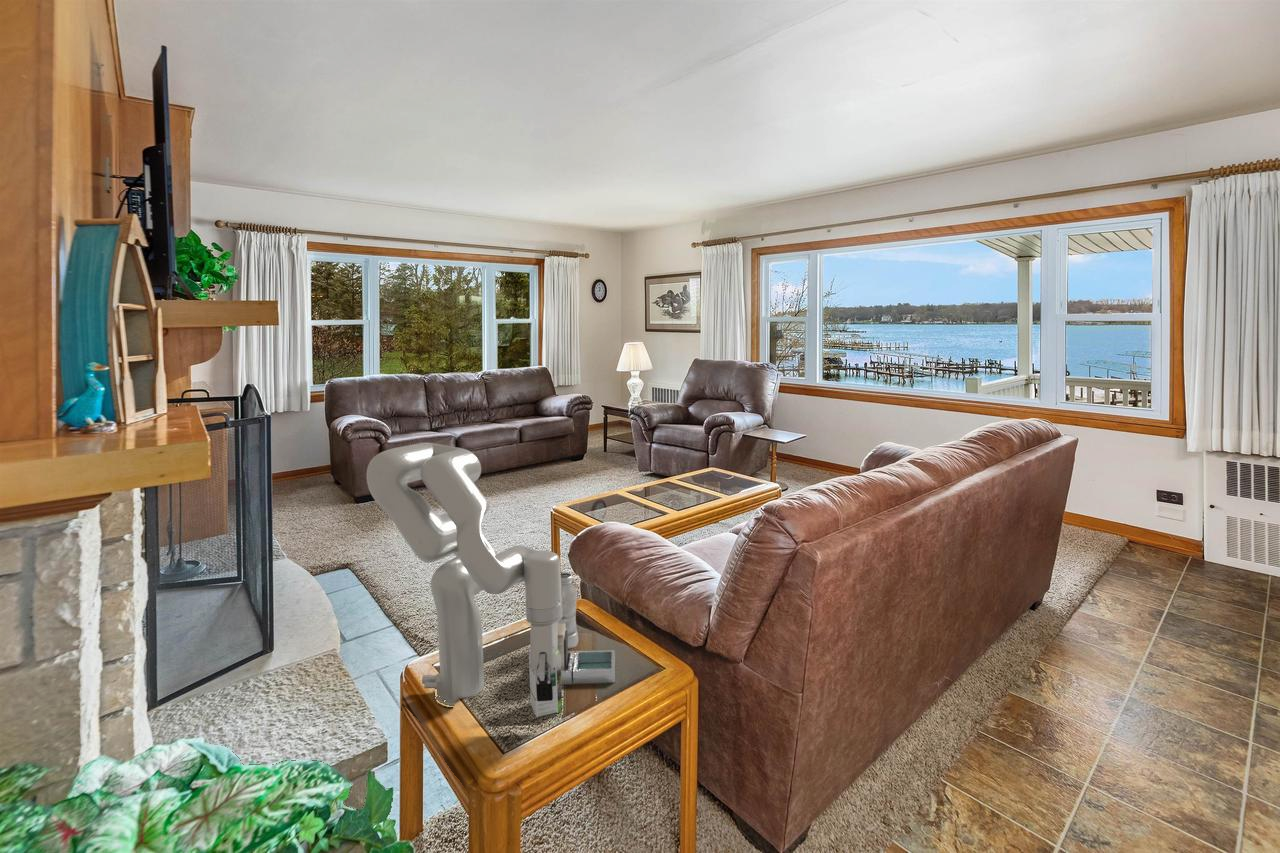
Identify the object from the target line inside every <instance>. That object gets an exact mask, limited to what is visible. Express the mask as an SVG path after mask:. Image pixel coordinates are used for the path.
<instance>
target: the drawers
mask: <svg viewBox="0 0 1280 853" xmlns="http://www.w3.org/2000/svg"><path fill="white" fill-rule="evenodd" d="M616 662H617V661H616V650H615V649H607V650H605V649H604V650H603V649H602V650H599V649H597V650H576V651H574V650H568V662H567V668H566V670H561V684H562V685H589V684H591V685H592V684H593V685H594V684H595V685H596V684H597V685H598V684H616V683H617V679H616V678H617V676H616V675H617V674H616V673H617V666H616V665H617V663H616ZM528 673H529V674H528V675H529V679H530V671H529V672H528ZM528 686H530V681H529V683H528Z"/></svg>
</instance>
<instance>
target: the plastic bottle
mask: <svg viewBox="0 0 1280 853" xmlns="http://www.w3.org/2000/svg"><path fill="white" fill-rule="evenodd" d="M572 583H573V578H572V574H571V573H569V572H562V573H561V598H562V618H561V619H560V620H559V621H557V624H564V623H565V625H566V630H568V650H570V649H572V648H575V647H576V646H578V644H579V634H578V630H577V620H576V616H577V615H576V613H577V602H578V592H577V590H576V588H575V586H573V584H572Z"/></svg>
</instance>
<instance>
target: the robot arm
mask: <svg viewBox="0 0 1280 853" xmlns="http://www.w3.org/2000/svg"><path fill="white" fill-rule="evenodd" d="M481 474H482V465H481V461H480V460H479V459H478V457H477V456H476V454H474V453H473V452H472V451H470V450H468V449H465V448H462V447H457V446H456V447H455V446H451V445H446V444H440V443H434V442H418V443H414V444H409V445H404V446H399V447H398V446H397V447H394V448H390V449H389V448H388V449H387V450H384V451H381V452H379V453H377V454H375V455H374V456H373V458H372V459H371V460H370V462H369V463H368V465H367V468H366V484H367V487H368V490H369V493H370V495H371V496H372V498H373V500H374V501H375V502H376V504H378V506H379V507H380V508H381V509H382V510H383V511H384V513H386V514H387V516H389V518H390V519H391V521H392V522H393V523H394V525H395V527H396V529H397V531H399V532H400V534H401V535H402V537H403V539H404V541H406V544H408V546H409V547H410V549H411V550H412V552H413V553H414V555H415V556H416V557H417V558H418V559H419V560H420V561H421V562H423V563H430V564H431V563H434V562H437V561H440V560H442V559H445V558H447V557H449V556H452V555H453V554H454V556H455V557H454V558H451V559H450V560H447V561H446V562H444V563H443V564H441V565H440V566H438V568H436V570H434V572H433V574H432V576H431V579H430V580H431V581H430V590H431V594H432V599H433V601H434V605H435V606H434V607H435V611H436V621H437V624H436V625H437V637H438V638H437V639H438V640H437V641H438V656H439V672H438V673H436V674H423V675H422V678H421V684H422V685H423V688H424V689H426V690H427V689H434V690H435V689H437V695H438V696H437V697H436V696H435V697H436V700H438V701H439V702H440V703H443V704H445V705H449V706H454V707H455V705H456V703H457V701H458V700H461V699H466V698H470V697H473V696H475V695H477V694H478V693H480V692H481V691H483V688H485V677H484V676H485V672H484V671H485V670H484V669H485V668H484V650H483V649H484V647H483V645H484V644H483V627H482V626H483V625H482V614H481V611H480V608H479V607H478V605H477V604H476V602H475V596H477V595H478V594H480V593H481V592H482V591H483V592H485V593H487V594H490V595H500V594H503V593H505V592H506V591H508V590H510V589H511V588H513V587H515V586H517V585H518V584H520V583H523V582H524V596H525V617H526V621H527V623H528V624H530V635H529V636H530V640H529V644H530V645H529V646H530V647H529V648H530V655H531V670H532V671H534V670H536V669H537V682H536V689H537V701H552V699H553V690H552V681H551V670H552V669H553V668H554V666H555V659H556V652H557V648H558V627H557V621H559V620H560V619H561V618H562V598H561V574H562V573H561V559H560V556H559V555H558V553H555V552H554V551H550V550H549V551H548V550H540V551H539V550H536V549H533V548H531V547H528V546H525V545H514V546H511V547H509V548H507V549H505V550H503V551H500V552H499V553H497V552H496V551H495V550H494V548H493V547H492V545H491V544H490V543H489V541H488V539H487V538H486V536H485V535H484V534H483V533H482V522H483V520H484V517H485V516H486V515H487V513H488V511H489V509H490V503H489V500H488V499H487V498H486V497H485V495H483V493H482V491H481V490H480V489H479V488H478V487H477V485H476V484H475V482H477V480H479V478H480V476H481ZM420 480H422V482H423V484H424V485H425V486H426V488H427V490H428V491H429V492H430V493H431V495H432V496H433V497H434V499H435V501H436V502H437V503H438V504H439V506H440V507H441V508H442V510H443V511H444V512H445V513H442V514H438V513H437V512H436V511H435V510H434V509H433V507H432V506H431V505H430V503H429V501H428V500H427V499H426V498H425V497H424V495H422V494H420V493H419V492H417V491H416V490H414V489H412V488H411V487H409V486H408V484H410V483H413V482H417V481H420ZM546 654H547V658H546ZM545 665H549V667H545ZM545 671H548V676H547V674H545ZM439 696H440V697H439ZM444 700H446V701H445V702H444Z"/></svg>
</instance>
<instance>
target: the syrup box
mask: <svg viewBox="0 0 1280 853" xmlns="http://www.w3.org/2000/svg"><path fill="white" fill-rule="evenodd" d="M546 658H547V654H546ZM528 664H529V665H528V666H529V669H528V670H529V672H530V678H529V682H530V685H529V693H530V694H529V696H530V705H531V706H530V707H531V708H532V711H533V713H534V716H535V718H541V717H546V716H550V715H556V714H559V713H562V712H563V692H562V691H563V689H562V688H563V686H562V684H561V655H560V652H559V651H558V648H557V652H556V659H555V666H554V668H553V669H552V670H551V681H552V690H553V699H552V701H537V689H536V682H537V669H536V670H534V671H532V670H531V655H530V647H529V648H528ZM545 667H549V665H545ZM545 674H547V676H548V671H545Z"/></svg>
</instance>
